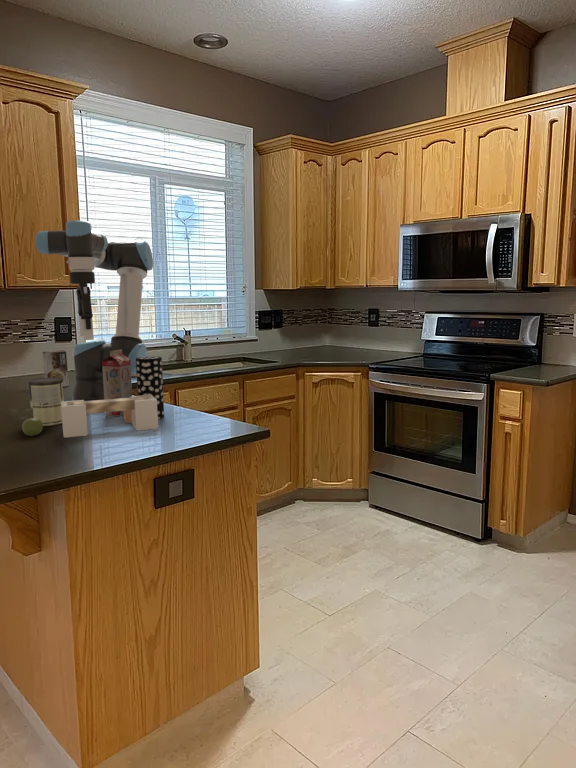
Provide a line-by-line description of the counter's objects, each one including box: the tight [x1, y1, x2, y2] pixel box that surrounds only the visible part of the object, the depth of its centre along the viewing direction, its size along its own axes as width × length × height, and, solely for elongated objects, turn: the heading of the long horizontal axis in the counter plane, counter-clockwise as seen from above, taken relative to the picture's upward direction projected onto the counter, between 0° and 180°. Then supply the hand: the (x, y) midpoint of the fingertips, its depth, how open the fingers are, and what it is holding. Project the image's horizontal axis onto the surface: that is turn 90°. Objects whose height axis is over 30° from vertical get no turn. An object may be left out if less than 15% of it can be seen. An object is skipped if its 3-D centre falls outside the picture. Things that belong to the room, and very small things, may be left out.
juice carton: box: [102, 350, 133, 417], centre depth 200 cm, size 7×7×22 cm
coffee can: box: [27, 377, 65, 427], centre depth 188 cm, size 10×10×14 cm
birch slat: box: [73, 397, 144, 415], centre depth 177 cm, size 20×4×3 cm, turn 113°
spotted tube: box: [136, 355, 165, 420], centre depth 194 cm, size 8×8×20 cm
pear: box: [21, 417, 44, 437], centre depth 174 cm, size 6×5×10 cm
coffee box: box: [42, 349, 70, 388], centre depth 263 cm, size 9×6×16 cm
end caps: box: [61, 395, 159, 438], centre depth 177 cm, size 27×10×9 cm, turn 113°
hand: (86, 338), depth 190 cm, fingers open, 13 cm apart
